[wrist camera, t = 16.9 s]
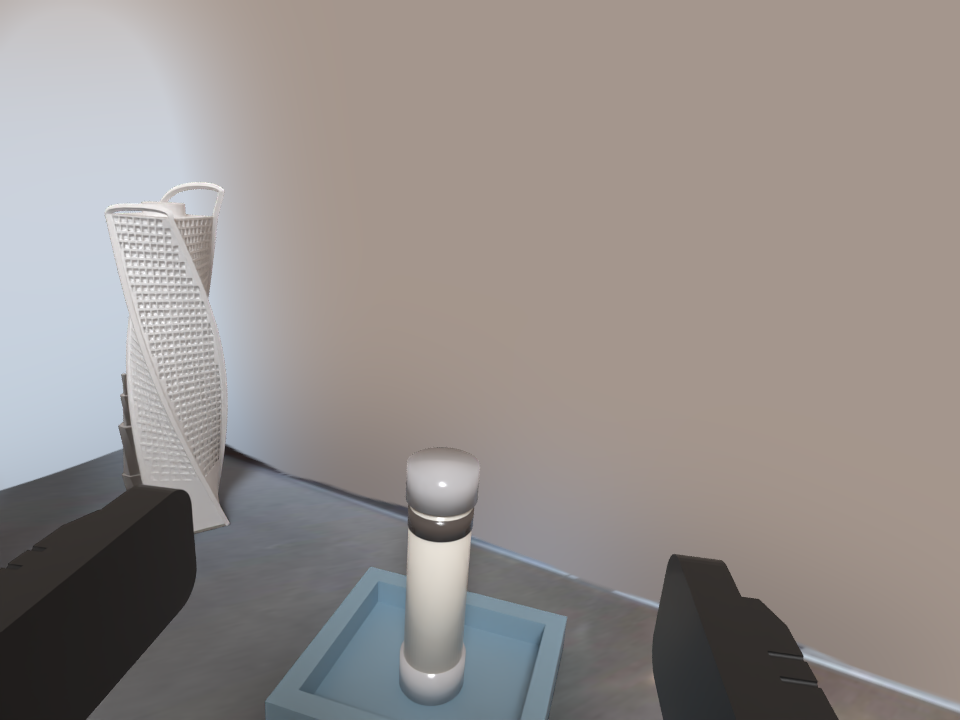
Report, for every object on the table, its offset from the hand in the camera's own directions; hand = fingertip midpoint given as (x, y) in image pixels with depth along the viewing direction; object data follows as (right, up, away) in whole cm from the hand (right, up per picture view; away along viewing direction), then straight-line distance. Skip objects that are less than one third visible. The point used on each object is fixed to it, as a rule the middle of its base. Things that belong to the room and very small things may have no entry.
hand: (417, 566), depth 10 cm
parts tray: (-2, -16, +25) cm, 30 cm away
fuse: (-2, -15, +25) cm, 29 cm away
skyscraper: (-24, -11, +40) cm, 48 cm away
